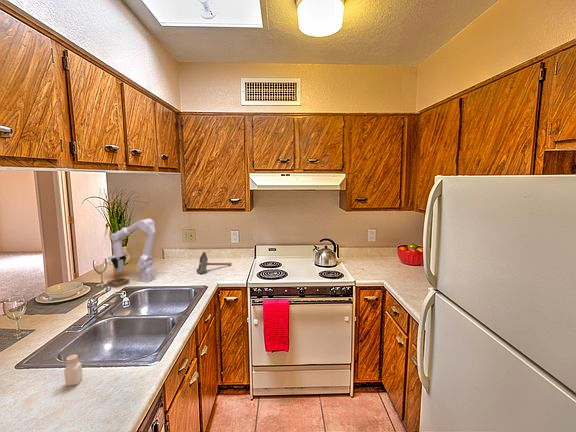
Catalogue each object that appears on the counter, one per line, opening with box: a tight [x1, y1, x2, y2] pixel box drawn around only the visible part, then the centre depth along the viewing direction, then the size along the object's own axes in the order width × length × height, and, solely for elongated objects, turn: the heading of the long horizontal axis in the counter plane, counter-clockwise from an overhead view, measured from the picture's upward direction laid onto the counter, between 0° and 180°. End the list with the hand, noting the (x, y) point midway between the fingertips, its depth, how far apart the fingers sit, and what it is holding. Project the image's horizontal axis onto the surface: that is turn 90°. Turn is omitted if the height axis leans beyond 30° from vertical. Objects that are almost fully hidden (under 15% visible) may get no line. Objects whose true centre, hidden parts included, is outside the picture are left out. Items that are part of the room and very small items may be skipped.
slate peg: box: [114, 258, 125, 273], centre depth 211 cm, size 4×4×8 cm
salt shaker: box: [63, 354, 83, 387], centre depth 102 cm, size 4×4×10 cm
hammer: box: [196, 251, 232, 274], centre depth 233 cm, size 6×16×30 cm
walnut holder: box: [106, 276, 130, 289], centre depth 200 cm, size 9×9×3 cm
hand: (119, 267), depth 211 cm, fingers closed on slate peg, 4 cm apart
